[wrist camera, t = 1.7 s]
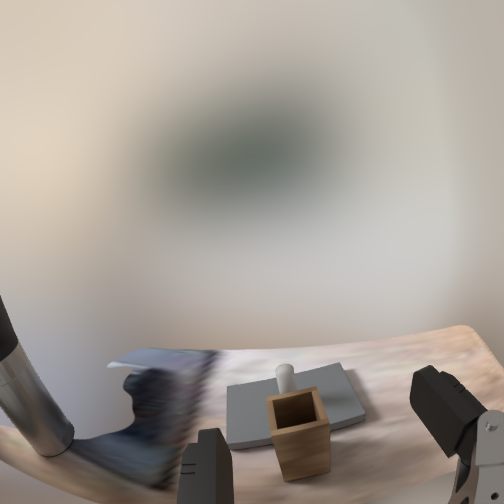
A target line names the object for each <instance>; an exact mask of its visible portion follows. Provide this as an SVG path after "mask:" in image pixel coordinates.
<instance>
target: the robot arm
mask: <svg viewBox="0 0 504 504" xmlns="http://www.w3.org/2000/svg"><path fill="white" fill-rule="evenodd" d="M410 404H411V406H412V408H413V410H414V411H415V413H416V414H417V415H418V417H419V418H420V419H421V421H422V422H423V423H424V425H425V426H426V428H427V429H428V430H429V432H430V433H431V434H432V436H433V437H434V439H435V440H436V441H437V443H438V444H439V446H440V447H441V448H442V450H443V451H444V453H445V454H446V456H447V457H448V458H450V457H451V456H453V455H455V454H456V453H457V454H458V455H459V459H458V463H457V469H456V475H455V481H454V486H453V491H452V495H451V498H450V501H449V502H448V504H504V413H503V412H501V411H499V410H489V411H488V410H487V409H486V408H485V407H484V406H483V405H482V404H481V403H480V402H479V401H478V400H477V399H476V398H475V397H474V396H473V395H472V394H471V393H470V392H469V391H468V390H466V388H465V387H464V386H463V385H462V384H460V382H459V381H458V380H457V379H456V378H455V377H454V376H453V375H451V374H448V373H446V372H444V371H442V372H440V373H439V372H438V371H437V370H436V369H435V368H434V367H433V366H431V365H429V366H427V367H424V368H422V369H420V370H418V371H416V372H414V374H413V379H412V386H411V392H410ZM0 407H1V409H2V410H3V411H4V413H5V414H6V415H7V417H8V418H9V419H10V420H11V422H12V423H13V424H14V425H15V427H16V428H17V429H18V430H19V432H20V433H21V434H22V435H23V436H24V437H25V439H26V440H27V441H28V442H29V443H30V444H31V445H32V446H33V447H34V448H35V449H36V451H37V452H38V453H40V454H41V455H44V456H55V455H57V454H60V453H61V452H63V451H64V450H65V449H67V448H68V446H69V445H70V444H71V442H72V440H73V438H74V427H73V425H72V424H71V423H70V421H69V420H68V419H67V417H66V416H65V415H64V413H63V412H62V410H61V409H60V407H59V406H58V405H57V403H56V402H55V400H54V399H53V397H52V396H51V394H50V393H49V391H48V390H47V388H46V387H45V385H44V384H43V382H42V381H41V379H40V377H39V376H38V374H37V372H36V371H35V369H34V367H33V366H32V364H31V362H30V360H29V359H28V357H27V355H26V353H25V351H24V349H23V348H22V346H21V344H20V342H19V340H18V338H17V336H16V334H15V332H14V329H13V327H12V324H11V322H10V319H9V317H8V314H7V311H6V309H5V307H4V304H3V302H2V299H1V296H0ZM181 464H182V466H181V472H180V473H181V475H180V480H179V489H178V499H177V504H234V490H233V467H232V456H231V452H230V449H229V447H228V445H227V443H226V441H225V439H224V437H223V435H222V433H221V431H220V429H219V428H212V429H203V430H199V433H198V443H189V444H188V446H187V447H186V449H185V451H184V452H183V455H182V463H181Z"/></svg>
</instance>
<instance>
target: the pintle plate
mask: <svg viewBox="0 0 504 504" xmlns="http://www.w3.org/2000/svg"><path fill="white" fill-rule="evenodd" d="M275 373H276V378H273V379H268V380H262V381H257V382H251V383H246V384H240V385H233V386H227V445H228V447H229V449H230V450H234V449H243V448H250V447H257V446H263V445H269V444H273V441H272V438H271V433H270V426H269V419H268V412H267V405H266V398H265V397H269V396H274V395H279V394H284V393H288V392H293V391H297V390H302V389H306V388H310V387H314V386H317V389H318V392H319V395H320V397H321V400H322V403H323V406H324V408H325V411H326V414H327V417H328V419H329V422H330V431H332V430H335V429H339V428H342V427H345V426H349V425H352V424H355V423H358V422H361V421H364V420H365V414H366V413H365V411H364V409H363V407H362V405H361V403H360V401H359V399H358V397H357V395H356V393H355V391H354V389H353V387H352V385H351V383H350V381H349V379H348V377H347V375H346V374H345V372H344V370H343V368H342V366H341V364H340V362H339V363H335V364H332V365H328V366H324V367H320V368H317V369H313V370H309V371H304V372H300V373H296V374H294V368H293V366H292V365H290V364H282V365H279V366H278V367H277V368H276V369H275Z"/></svg>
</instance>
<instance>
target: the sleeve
mask: <svg viewBox="0 0 504 504" xmlns="http://www.w3.org/2000/svg"><path fill="white" fill-rule="evenodd" d="M265 398H266V405H267V412H268V419H269V426H270V433H271V438H272V441H273V445H274V448H275V451H276V455H277V458H278V462H279V465H280V468H281V471H282V475H283V478H284V481H285V482H286V481H291V480H296V479H301V478H306V477H310V476H314V475H319V474H322V473H326V472H330V422H329V419H328V417H327V414H326V411H325V408H324V406H323V403H322V400H321V397H320V395H319V392H318V389H317V386H314V387H310V388H306V389H302V390H297V391H293V392H288V393H284V394H279V395H274V396H269V397H265Z"/></svg>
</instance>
